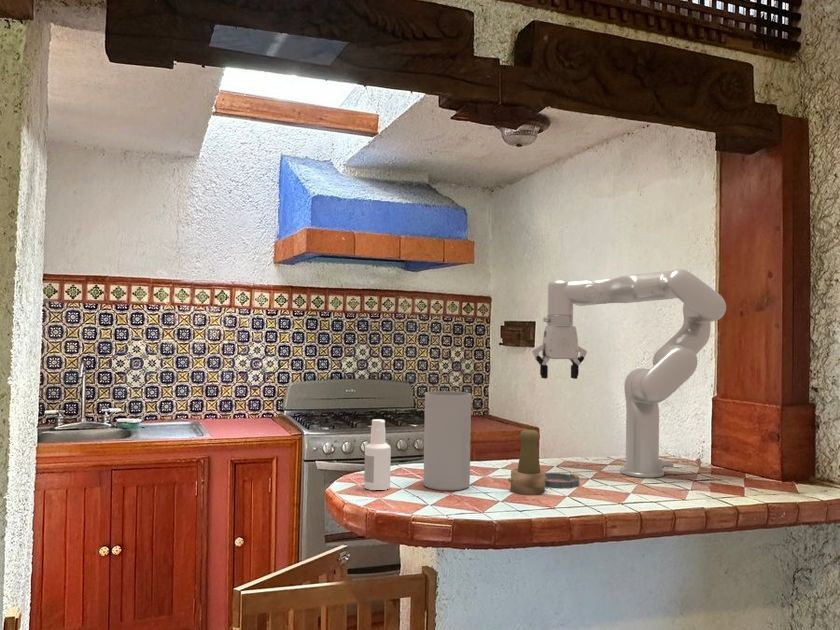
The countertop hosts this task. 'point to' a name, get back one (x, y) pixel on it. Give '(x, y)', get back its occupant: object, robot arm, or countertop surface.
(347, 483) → the countertop surface
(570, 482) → the collar
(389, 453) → the spray bottle
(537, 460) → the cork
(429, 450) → the cylinder vase
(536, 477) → the pot
